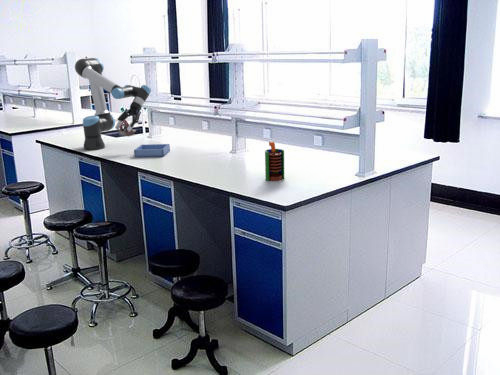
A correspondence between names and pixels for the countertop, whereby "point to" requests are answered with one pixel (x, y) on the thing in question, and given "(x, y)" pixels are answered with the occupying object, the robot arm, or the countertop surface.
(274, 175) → the motor
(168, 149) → the parts bin
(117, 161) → the countertop surface
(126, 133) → the brake caliper
